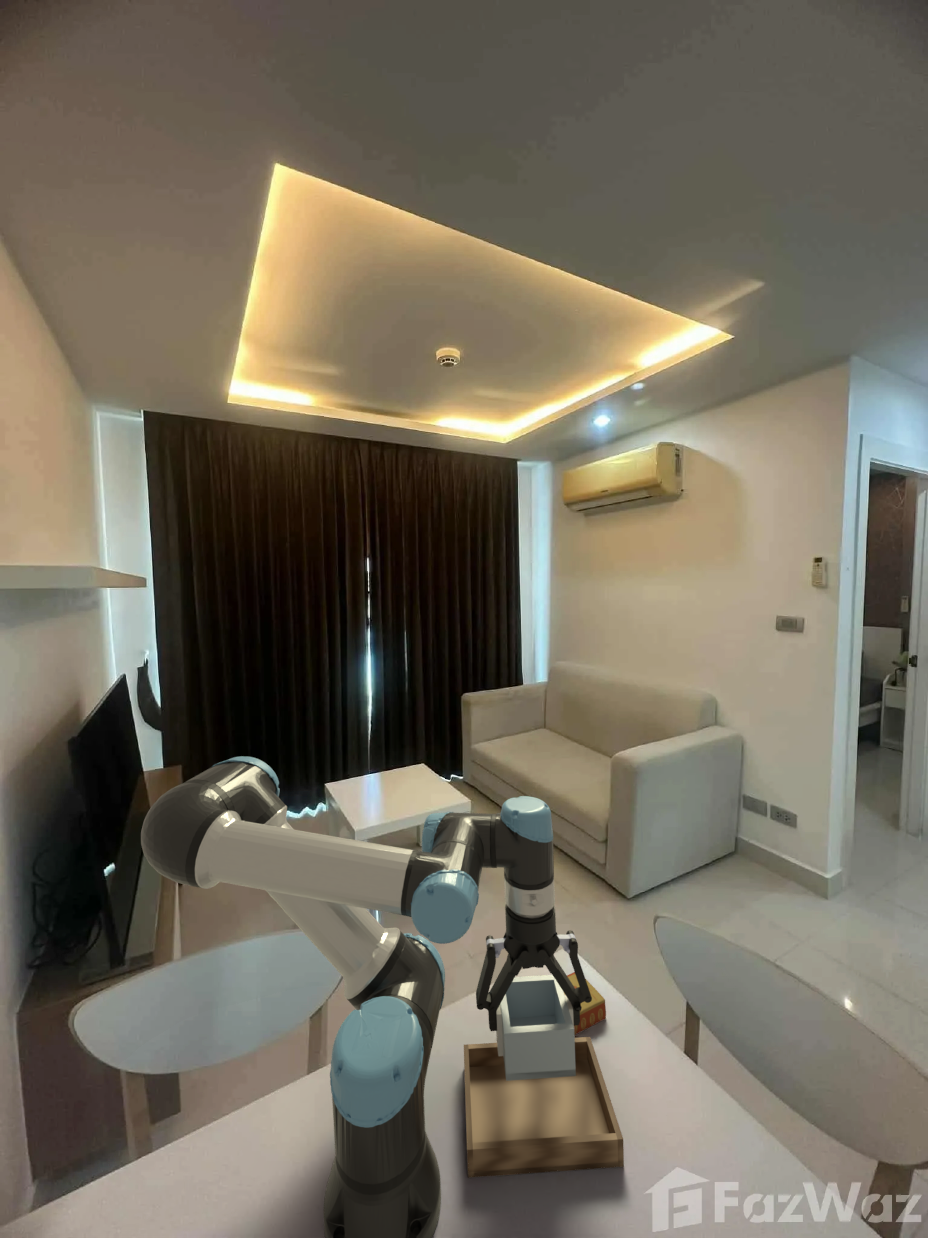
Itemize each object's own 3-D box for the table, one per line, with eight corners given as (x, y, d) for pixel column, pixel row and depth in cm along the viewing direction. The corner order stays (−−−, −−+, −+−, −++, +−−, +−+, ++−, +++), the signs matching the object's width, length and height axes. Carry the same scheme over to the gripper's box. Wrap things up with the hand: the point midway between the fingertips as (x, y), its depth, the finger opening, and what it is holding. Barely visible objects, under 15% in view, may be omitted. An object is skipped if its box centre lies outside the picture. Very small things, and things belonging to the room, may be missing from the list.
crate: (468, 1178, 66) (466, 1150, 66) (464, 1067, 82) (463, 1044, 81) (623, 1167, 67) (623, 1139, 66) (590, 1059, 82) (590, 1037, 82)
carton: (606, 1021, 90) (606, 999, 90) (535, 1059, 83) (534, 1035, 83) (578, 989, 97) (577, 968, 97) (510, 1021, 91) (509, 999, 90)
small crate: (498, 1019, 79) (497, 978, 78) (559, 1015, 79) (558, 974, 79) (506, 1081, 69) (504, 1033, 68) (575, 1076, 69) (574, 1029, 69)
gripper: (455, 924, 69) (461, 1074, 70) (612, 915, 69) (616, 1064, 70) (454, 893, 76) (460, 1028, 77) (596, 884, 77) (600, 1019, 78)
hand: (534, 1045), depth 74 cm, fingers closed on small crate, 10 cm apart
